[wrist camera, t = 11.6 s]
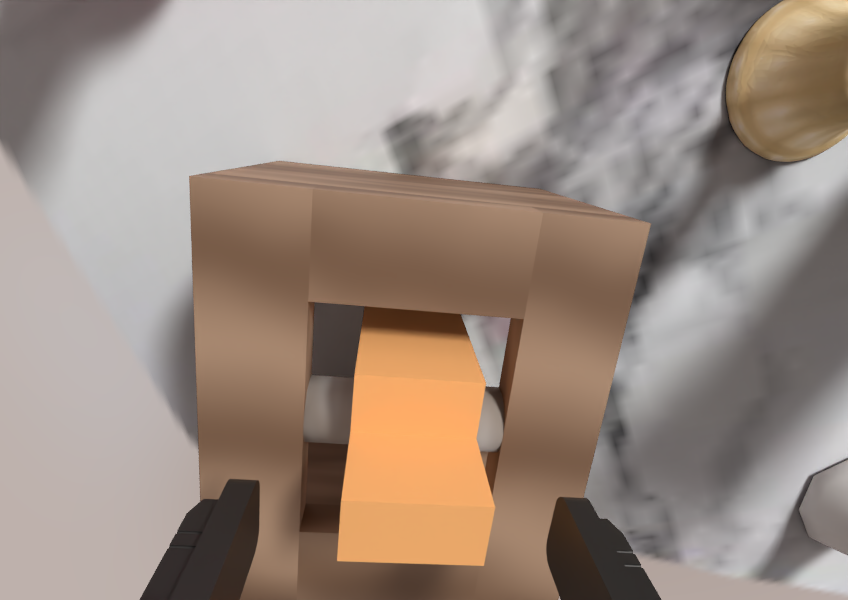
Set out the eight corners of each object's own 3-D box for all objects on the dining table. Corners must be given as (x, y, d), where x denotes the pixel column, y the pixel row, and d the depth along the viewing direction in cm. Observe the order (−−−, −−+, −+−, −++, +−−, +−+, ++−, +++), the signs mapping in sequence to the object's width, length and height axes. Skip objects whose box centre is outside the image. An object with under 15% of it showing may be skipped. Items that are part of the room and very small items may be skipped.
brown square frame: (278, 160, 25) (189, 176, 14) (540, 188, 27) (651, 223, 15) (273, 428, 30) (204, 602, 19) (495, 441, 32) (555, 610, 20)
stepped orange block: (369, 274, 24) (345, 433, 12) (448, 281, 25) (507, 442, 12) (361, 381, 26) (333, 616, 14) (434, 386, 27) (473, 618, 14)
